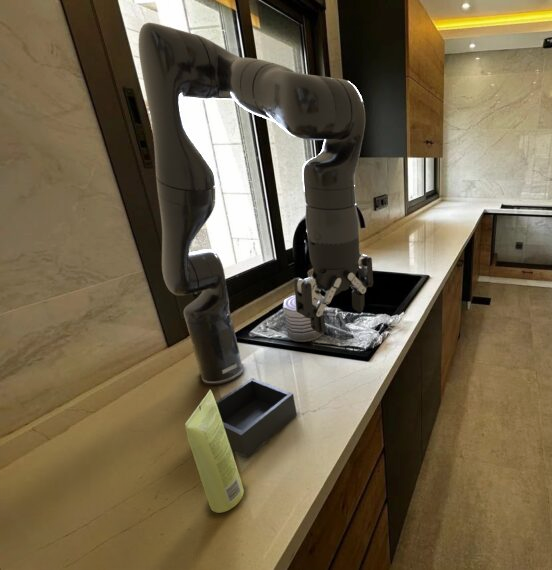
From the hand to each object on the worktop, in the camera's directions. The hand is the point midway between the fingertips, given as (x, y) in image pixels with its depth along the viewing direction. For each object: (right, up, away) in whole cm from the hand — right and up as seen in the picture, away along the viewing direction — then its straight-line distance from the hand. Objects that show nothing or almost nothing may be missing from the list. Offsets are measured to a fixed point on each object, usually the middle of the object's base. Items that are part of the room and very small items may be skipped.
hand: (339, 320), depth 57 cm
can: (-24, -10, +49) cm, 56 cm away
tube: (-18, -30, -2) cm, 35 cm away
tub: (-22, -24, +13) cm, 35 cm away
